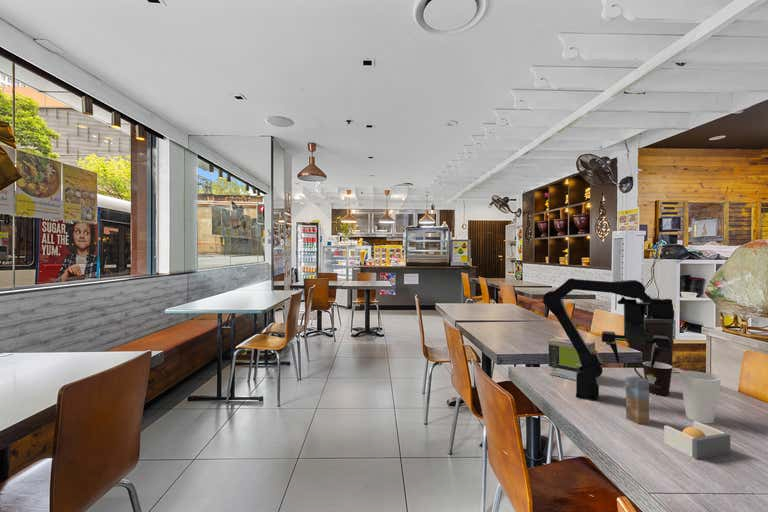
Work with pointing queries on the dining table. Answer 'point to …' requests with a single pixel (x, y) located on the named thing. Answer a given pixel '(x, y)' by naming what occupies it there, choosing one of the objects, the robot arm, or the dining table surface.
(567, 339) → the tea box
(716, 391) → the foam cup
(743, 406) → the dining table surface
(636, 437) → the dining table surface
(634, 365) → the coffee mug
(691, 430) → the ball
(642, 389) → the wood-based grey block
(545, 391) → the dining table surface
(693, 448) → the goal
